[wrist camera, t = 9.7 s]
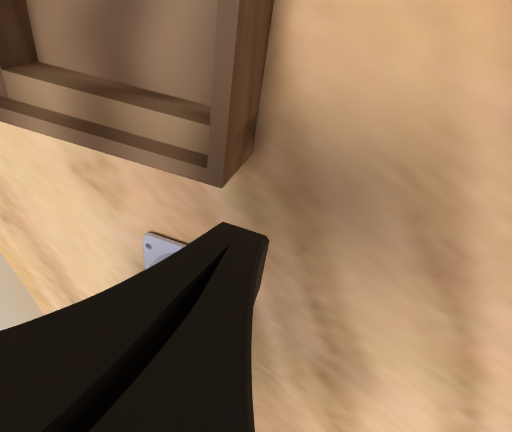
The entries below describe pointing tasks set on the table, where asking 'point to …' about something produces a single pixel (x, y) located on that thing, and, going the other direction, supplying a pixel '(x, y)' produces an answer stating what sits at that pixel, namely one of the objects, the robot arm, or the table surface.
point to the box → (139, 78)
